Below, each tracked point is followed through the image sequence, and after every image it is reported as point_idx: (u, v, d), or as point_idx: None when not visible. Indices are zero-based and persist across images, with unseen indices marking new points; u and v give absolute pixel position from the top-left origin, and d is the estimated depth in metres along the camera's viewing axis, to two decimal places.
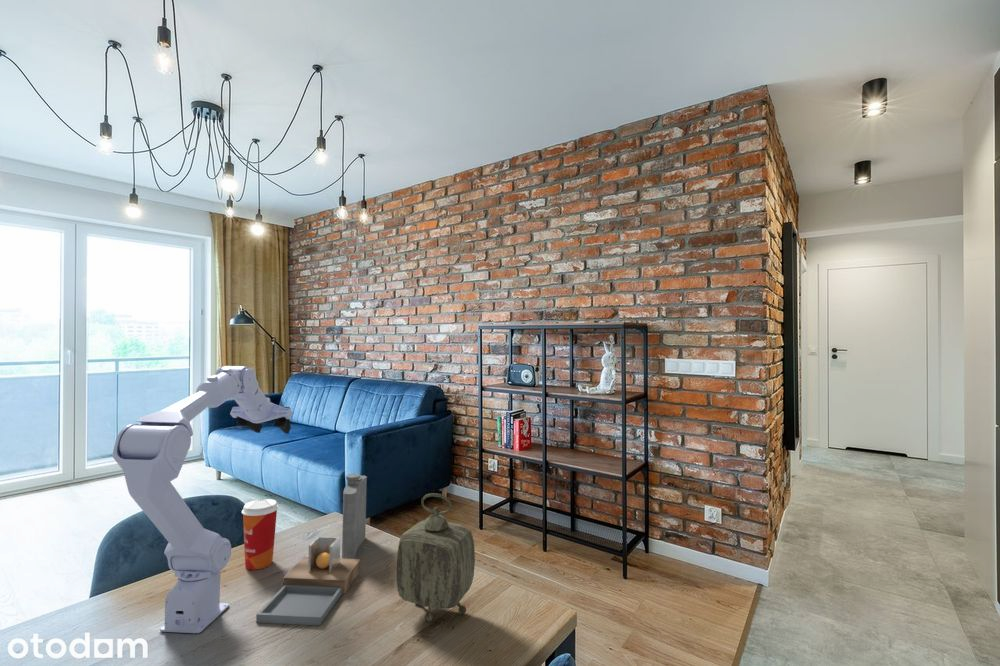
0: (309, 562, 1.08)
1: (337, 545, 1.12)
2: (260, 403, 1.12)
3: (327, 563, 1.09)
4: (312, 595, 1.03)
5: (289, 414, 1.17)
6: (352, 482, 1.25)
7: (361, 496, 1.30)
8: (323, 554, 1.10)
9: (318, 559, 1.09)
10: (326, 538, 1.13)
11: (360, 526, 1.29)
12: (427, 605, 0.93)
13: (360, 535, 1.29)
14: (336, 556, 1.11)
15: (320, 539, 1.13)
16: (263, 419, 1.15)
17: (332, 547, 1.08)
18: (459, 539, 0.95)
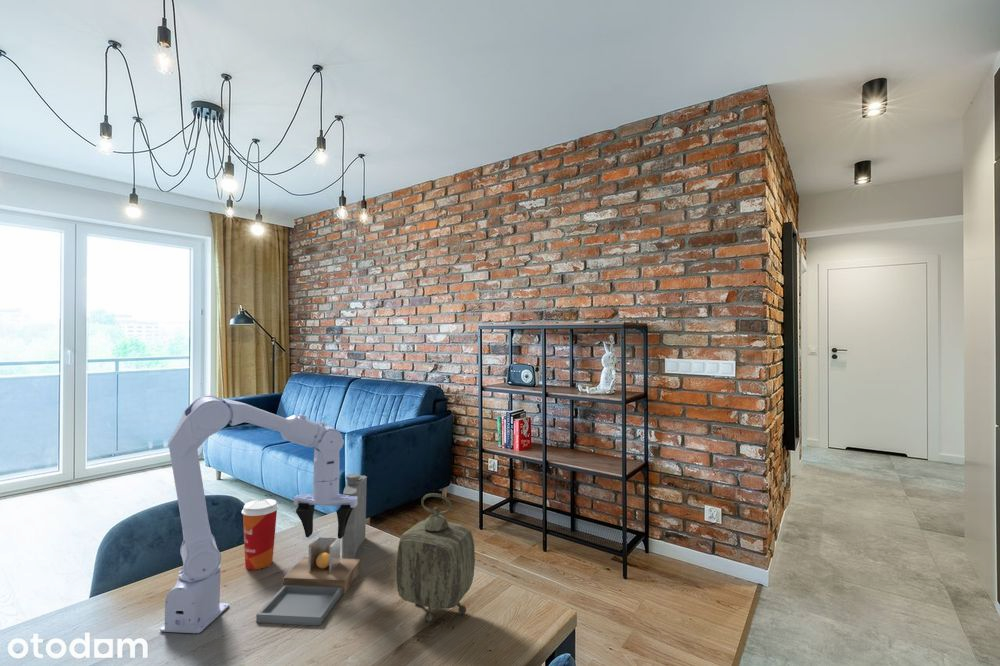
0: (309, 562, 1.08)
1: (337, 545, 1.12)
2: (325, 478, 1.08)
3: (327, 563, 1.09)
4: (312, 595, 1.03)
5: (355, 501, 1.10)
6: (352, 482, 1.25)
7: (361, 496, 1.30)
8: (323, 554, 1.10)
9: (318, 559, 1.09)
10: (326, 538, 1.13)
11: (360, 526, 1.29)
12: (427, 605, 0.93)
13: (360, 535, 1.29)
14: (336, 556, 1.11)
15: (320, 539, 1.13)
16: (329, 500, 1.08)
17: (332, 547, 1.08)
18: (459, 539, 0.95)
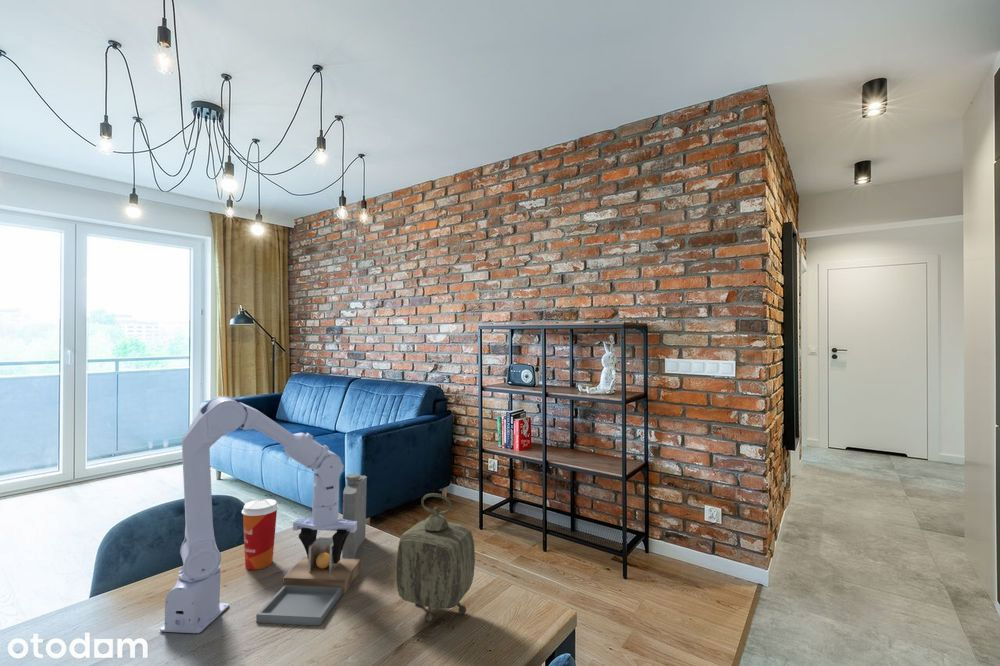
0: (309, 562, 1.08)
1: None
2: (324, 503, 1.08)
3: (327, 563, 1.09)
4: (312, 595, 1.03)
5: (355, 526, 1.10)
6: (352, 482, 1.25)
7: (361, 496, 1.30)
8: (323, 554, 1.10)
9: (318, 559, 1.09)
10: (326, 538, 1.13)
11: (360, 526, 1.29)
12: (427, 605, 0.93)
13: (360, 535, 1.29)
14: None
15: (320, 539, 1.13)
16: (328, 525, 1.08)
17: (332, 547, 1.08)
18: (459, 539, 0.95)
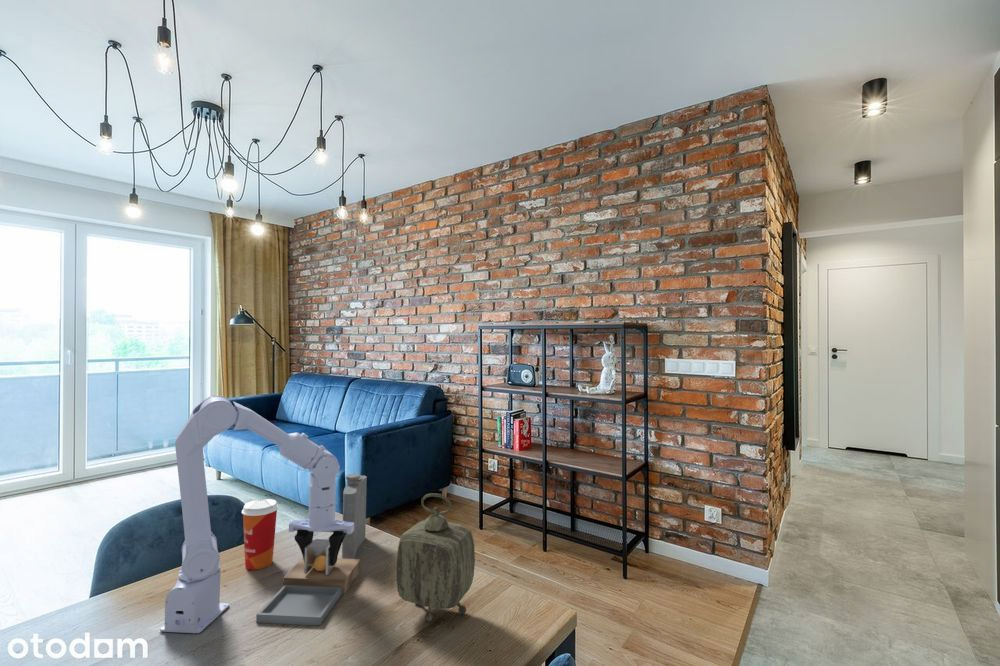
0: (305, 564, 1.06)
1: None
2: (320, 505, 1.06)
3: (325, 568, 1.08)
4: (312, 595, 1.03)
5: (352, 528, 1.08)
6: (352, 482, 1.25)
7: (361, 496, 1.29)
8: (319, 562, 1.07)
9: (315, 567, 1.08)
10: (322, 540, 1.11)
11: (360, 526, 1.29)
12: (427, 605, 0.93)
13: (360, 535, 1.29)
14: None
15: (316, 540, 1.11)
16: (325, 527, 1.06)
17: (328, 549, 1.07)
18: (459, 539, 0.95)
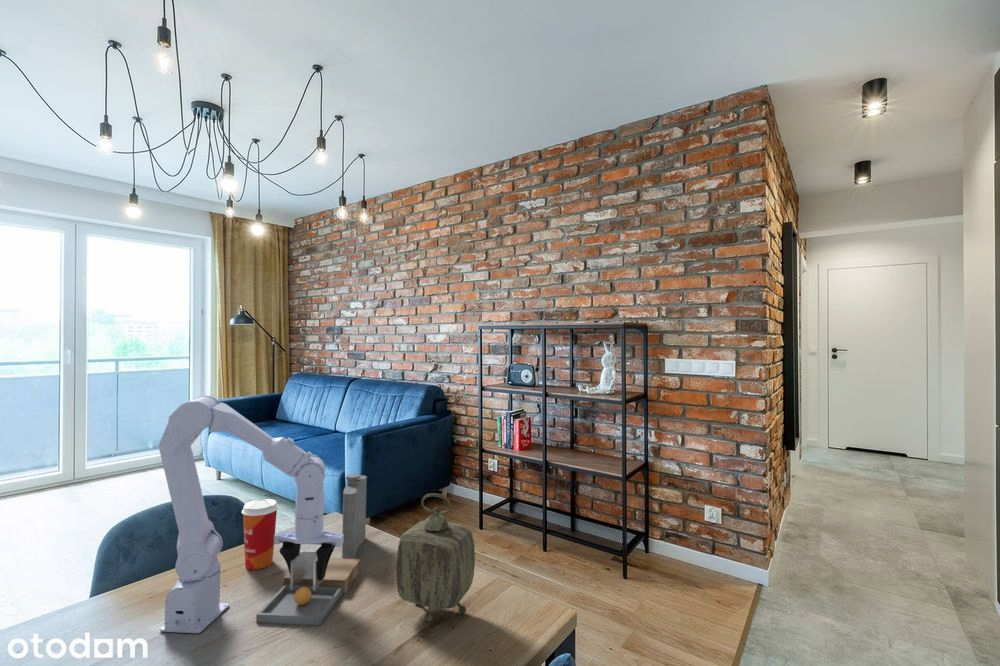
0: (291, 579, 1.00)
1: None
2: (303, 515, 0.99)
3: (306, 601, 0.99)
4: (312, 595, 1.03)
5: (341, 540, 1.02)
6: (352, 482, 1.25)
7: (361, 496, 1.30)
8: (301, 592, 0.99)
9: (296, 598, 0.98)
10: (310, 552, 1.04)
11: (360, 526, 1.29)
12: (427, 605, 0.93)
13: (360, 535, 1.29)
14: None
15: (304, 553, 1.04)
16: (312, 539, 1.00)
17: (316, 563, 1.00)
18: (459, 539, 0.95)
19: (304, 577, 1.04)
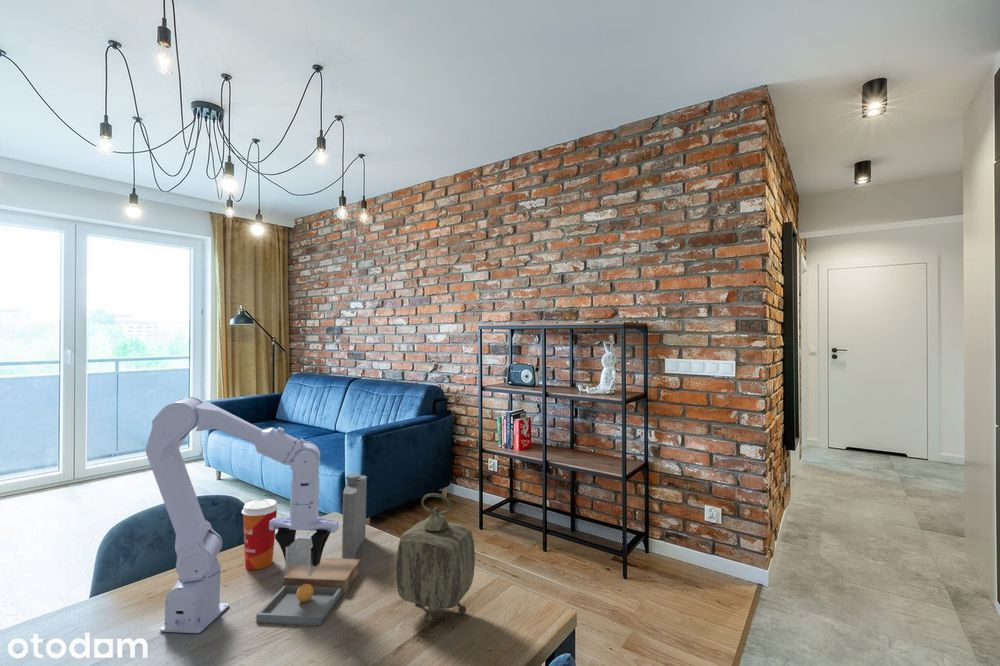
0: (286, 565, 1.00)
1: None
2: (299, 501, 0.99)
3: (308, 595, 1.00)
4: None
5: (336, 526, 1.02)
6: (352, 482, 1.25)
7: (361, 496, 1.30)
8: (305, 584, 1.01)
9: (299, 589, 1.00)
10: (305, 539, 1.04)
11: (360, 526, 1.29)
12: (427, 605, 0.93)
13: (360, 535, 1.29)
14: None
15: (299, 540, 1.04)
16: (307, 525, 1.00)
17: (311, 549, 1.00)
18: (459, 539, 0.95)
19: (299, 563, 1.04)
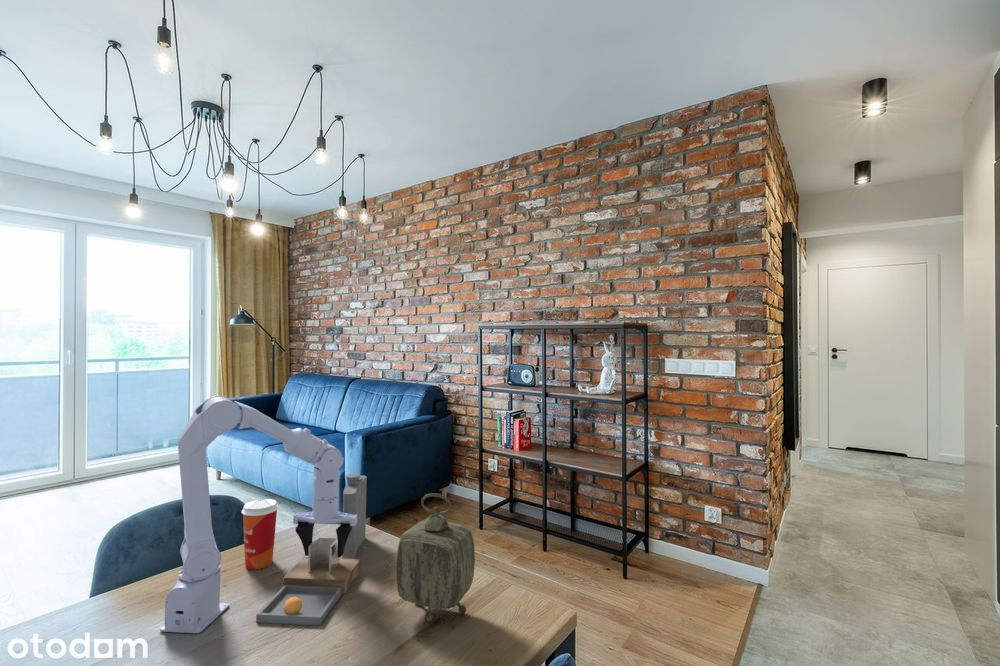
0: (309, 562, 1.08)
1: (337, 545, 1.11)
2: (325, 497, 1.08)
3: (301, 605, 0.97)
4: (312, 595, 1.03)
5: (355, 520, 1.10)
6: (352, 482, 1.25)
7: (361, 496, 1.30)
8: None
9: None
10: (326, 539, 1.12)
11: (360, 526, 1.29)
12: (427, 605, 0.93)
13: (360, 535, 1.29)
14: (336, 556, 1.11)
15: (320, 539, 1.13)
16: (329, 519, 1.08)
17: (332, 547, 1.08)
18: (459, 539, 0.95)
19: (320, 561, 1.12)
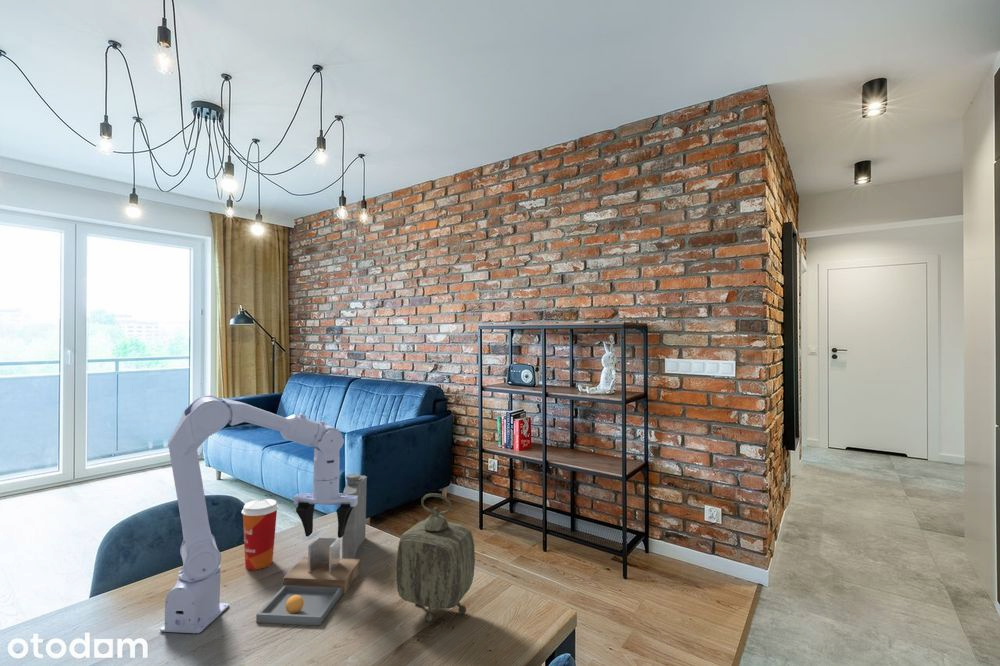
0: (309, 562, 1.08)
1: (337, 545, 1.11)
2: (325, 477, 1.08)
3: (302, 605, 0.97)
4: (312, 595, 1.03)
5: (355, 501, 1.10)
6: (352, 482, 1.25)
7: (361, 496, 1.30)
8: (292, 613, 0.96)
9: None
10: (326, 539, 1.12)
11: (360, 526, 1.29)
12: (427, 605, 0.93)
13: (360, 535, 1.29)
14: (336, 556, 1.11)
15: (320, 539, 1.13)
16: (329, 499, 1.08)
17: (332, 547, 1.08)
18: (459, 539, 0.95)
19: (320, 561, 1.12)
